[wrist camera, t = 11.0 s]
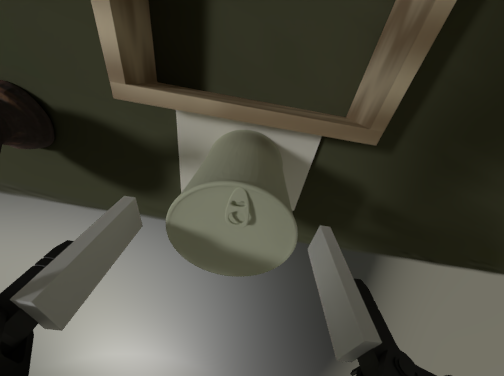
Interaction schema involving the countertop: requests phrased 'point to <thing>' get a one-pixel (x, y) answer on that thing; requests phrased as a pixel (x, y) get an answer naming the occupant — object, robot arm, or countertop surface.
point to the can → (235, 209)
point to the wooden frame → (229, 107)
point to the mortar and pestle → (23, 120)
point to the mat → (212, 128)
